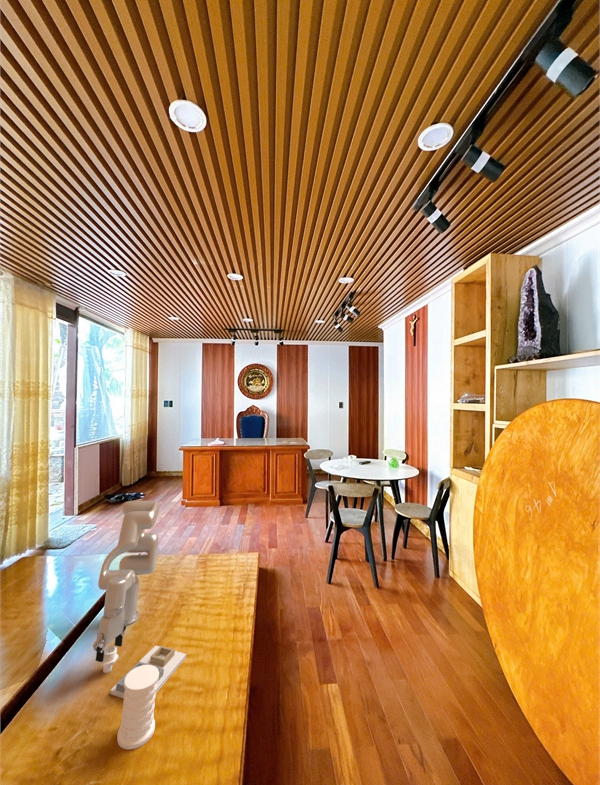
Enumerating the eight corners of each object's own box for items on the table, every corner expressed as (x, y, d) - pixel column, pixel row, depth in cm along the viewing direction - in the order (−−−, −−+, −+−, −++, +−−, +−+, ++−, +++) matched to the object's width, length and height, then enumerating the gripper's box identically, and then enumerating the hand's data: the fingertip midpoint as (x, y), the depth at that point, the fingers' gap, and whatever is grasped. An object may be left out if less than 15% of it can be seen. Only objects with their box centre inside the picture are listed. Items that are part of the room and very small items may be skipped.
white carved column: (147, 749, 107) (153, 690, 108) (110, 749, 106) (116, 690, 107) (159, 716, 118) (164, 664, 119) (126, 716, 117) (131, 663, 119)
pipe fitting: (119, 663, 141) (121, 644, 141) (110, 677, 134) (112, 656, 134) (104, 663, 141) (106, 643, 141) (94, 676, 133) (97, 655, 134)
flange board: (110, 694, 126) (111, 683, 126) (155, 648, 151) (156, 639, 151) (145, 706, 122) (146, 694, 122) (186, 657, 147) (186, 648, 147)
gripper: (122, 597, 148) (117, 638, 146) (89, 619, 131) (83, 665, 129) (136, 601, 146) (131, 642, 144) (104, 623, 129) (99, 670, 128)
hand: (109, 653), depth 137 cm, fingers open, 9 cm apart
